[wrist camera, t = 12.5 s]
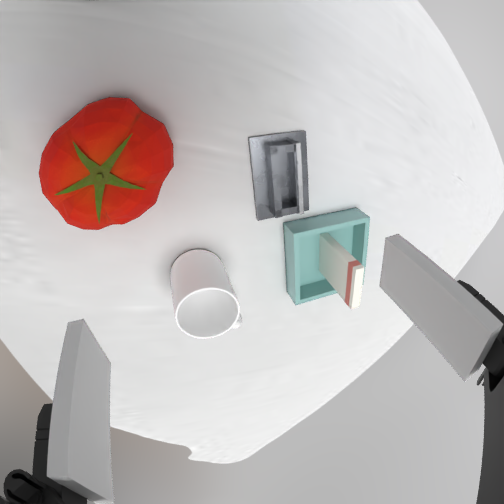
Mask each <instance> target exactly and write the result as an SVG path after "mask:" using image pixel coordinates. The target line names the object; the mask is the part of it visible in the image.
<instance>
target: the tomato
mask: <svg viewBox="0 0 504 504" xmlns="http://www.w3.org/2000/svg"><path fill="white" fill-rule="evenodd" d="M173 166H174V163H173V143H172V141H171V139H170V137H169V134H168V132H167V130H166V128H165V125H164V124H163V123H161V122H160V121H158V120H156V119H154V118H153V117H151V116H149V115H148V114H146V113H144V112H143V111H142V110H140V109H139V108H138V106H137V105H136V104H135V103H134V102H133V101H132V100H131V99H130V98H114V97H108V98H105V99H102V100H99V101H96V102H93V103H90V104H88V105H87V106H85V107H84V108H83V109H82V110H81V111H79V112H78V113H77V114H76V115H75V116H74V117H73V118H71V119H70V120H69V121H68V122H66V123H65V124H64V125H63V126H61V127H60V128H59V129H58V130H57V131H55V132H54V133H53V135H52V136H51V138H50V140H49V142H48V143H47V145H46V147H45V149H44V151H43V153H42V157H41V163H40V169H39V177H40V182H41V187H42V192H43V194H44V195H45V196H46V198H47V199H48V200H49V201H50V203H51V204H52V205H53V206H54V207H55V208H56V209H57V210H58V211H59V213H60V214H61V215H62V217H63V218H64V220H65V221H66V222H67V224H70V225H73V226H76V227H79V228H81V229H88V230H99V229H102V228H104V227H107V226H109V225H112V224H125V223H127V222H129V221H131V220H134V219H136V218H138V217H139V216H141V215H142V214H143V213H144V212H145V211H147V210H148V209H149V208H150V207H152V206H153V205H154V204H155V203H156V201H157V198H158V195H159V191H160V188H161V186H162V183H163V181H164V180H165V178H166V176H167V175H168V173H169V172H170V170H171V169H172V168H173Z"/></svg>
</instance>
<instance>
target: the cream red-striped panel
mask: <svg viewBox="0 0 504 504" xmlns="http://www.w3.org/2000/svg"><path fill="white" fill-rule="evenodd" d="M319 271H320V272H321V274H322V275H323V276H324V277H325V278H326V279H327V281H328V282H329V283H330V284H331V285H332V287H333V288H334V289H335V290H336V292H337V293H338V294H339V295H340V296H341V298H342V299H343V300H344V301H345V303H346V304H347V305H348V306H349V307H350V309H351V310H352V309H355V308H358V307H359V306H360V299H361V292H362V284H363V276H364V266H363V265H361V263H360V262H359V261H358V260H356V259H355V258H354V257H353V256H352V255H351V254H350V253H349V252H348V251H347V250H346V249H345V248H344V247H342V246H341V245H340V244H339V243H338V242H337V241H336V240H335V239H334V238H333V237H332V236H331V235H330V234H328V233H323V234H320V241H319Z"/></svg>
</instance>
